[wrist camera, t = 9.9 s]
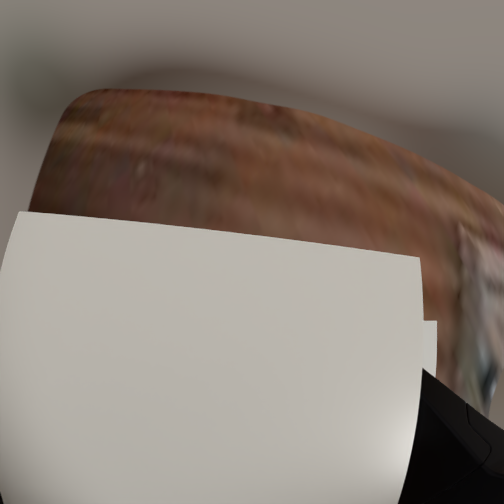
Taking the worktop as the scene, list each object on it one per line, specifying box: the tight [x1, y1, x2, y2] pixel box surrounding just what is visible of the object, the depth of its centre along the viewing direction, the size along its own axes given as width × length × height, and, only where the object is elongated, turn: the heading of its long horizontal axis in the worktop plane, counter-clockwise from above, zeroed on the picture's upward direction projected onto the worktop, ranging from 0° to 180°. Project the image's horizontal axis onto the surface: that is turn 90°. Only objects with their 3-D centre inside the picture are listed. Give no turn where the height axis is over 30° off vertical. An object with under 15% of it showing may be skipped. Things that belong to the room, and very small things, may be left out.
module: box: [0, 211, 423, 504], centre depth 8 cm, size 5×5×13 cm
